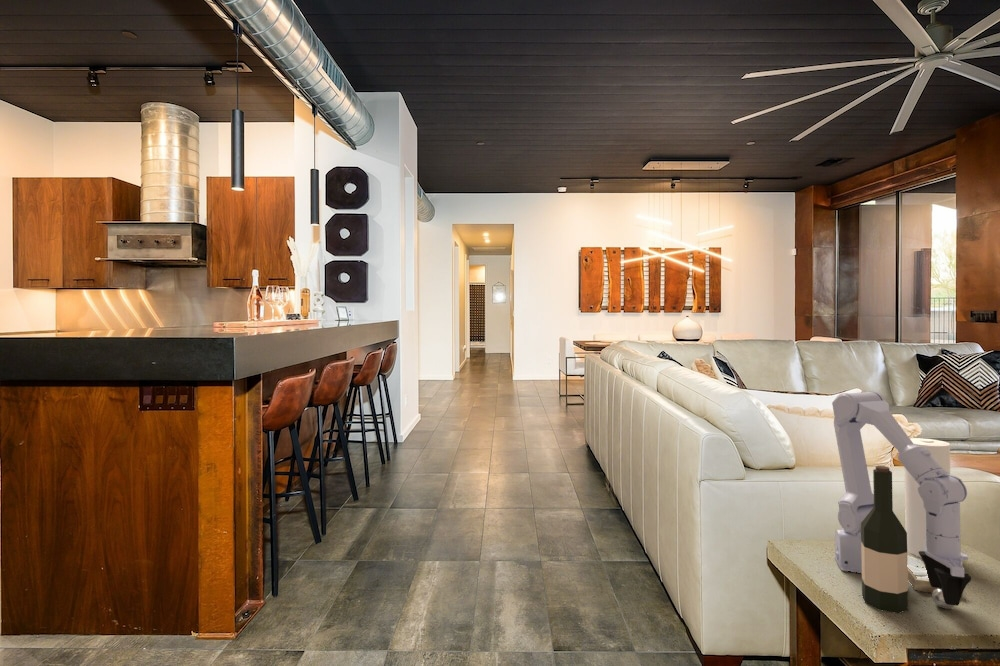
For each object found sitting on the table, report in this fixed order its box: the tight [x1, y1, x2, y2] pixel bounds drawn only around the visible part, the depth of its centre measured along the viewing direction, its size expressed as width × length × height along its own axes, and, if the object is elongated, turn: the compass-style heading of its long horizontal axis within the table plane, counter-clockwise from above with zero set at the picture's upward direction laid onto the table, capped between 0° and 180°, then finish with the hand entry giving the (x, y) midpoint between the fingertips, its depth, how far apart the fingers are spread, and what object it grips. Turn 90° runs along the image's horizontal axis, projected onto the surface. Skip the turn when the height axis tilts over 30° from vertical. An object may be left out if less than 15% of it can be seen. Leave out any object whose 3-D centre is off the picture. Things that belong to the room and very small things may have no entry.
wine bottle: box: [861, 465, 909, 614], centre depth 117 cm, size 8×8×30 cm
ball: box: [931, 588, 956, 609], centre depth 114 cm, size 4×4×4 cm
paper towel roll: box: [904, 437, 951, 558], centre depth 140 cm, size 9×9×30 cm
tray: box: [907, 566, 937, 594], centre depth 124 cm, size 8×8×3 cm
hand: (944, 595), depth 114 cm, fingers open, 7 cm apart
